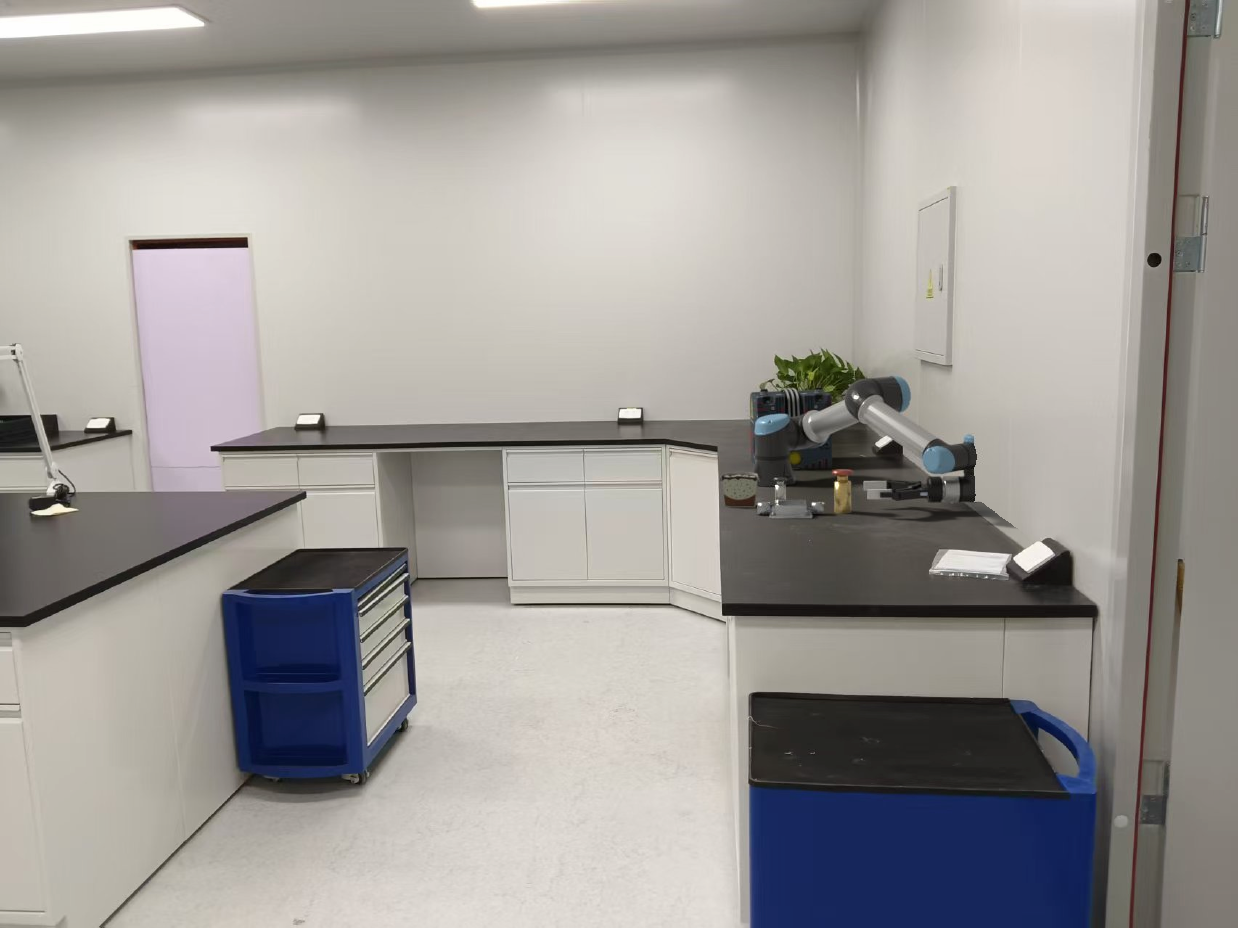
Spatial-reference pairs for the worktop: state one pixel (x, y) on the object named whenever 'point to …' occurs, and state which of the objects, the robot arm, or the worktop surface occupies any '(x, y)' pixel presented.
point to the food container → (739, 489)
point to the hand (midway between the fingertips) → (865, 490)
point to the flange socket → (790, 509)
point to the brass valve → (842, 491)
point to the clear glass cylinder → (780, 488)
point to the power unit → (793, 406)
